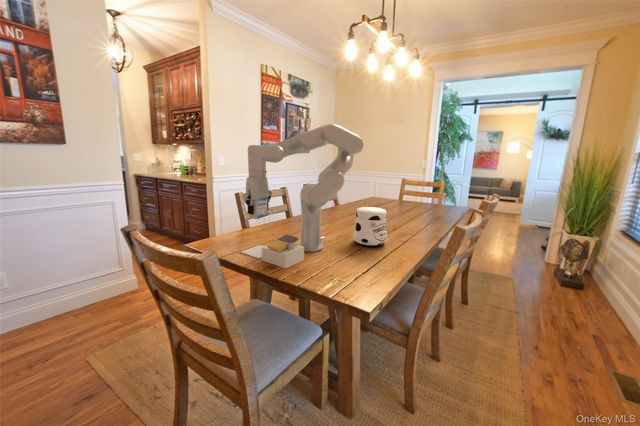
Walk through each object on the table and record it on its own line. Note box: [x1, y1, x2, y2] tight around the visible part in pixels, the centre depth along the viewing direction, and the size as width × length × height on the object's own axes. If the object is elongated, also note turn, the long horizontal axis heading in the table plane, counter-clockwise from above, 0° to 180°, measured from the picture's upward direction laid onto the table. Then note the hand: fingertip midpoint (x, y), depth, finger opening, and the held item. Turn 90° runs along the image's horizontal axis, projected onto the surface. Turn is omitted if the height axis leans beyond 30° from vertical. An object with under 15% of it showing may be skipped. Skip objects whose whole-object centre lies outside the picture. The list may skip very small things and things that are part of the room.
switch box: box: [261, 238, 305, 269], centre depth 123 cm, size 12×14×9 cm
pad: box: [240, 244, 264, 260], centre depth 132 cm, size 12×12×1 cm
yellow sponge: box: [267, 234, 299, 252], centre depth 122 cm, size 12×7×2 cm, turn 145°
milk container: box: [352, 206, 388, 247], centre depth 146 cm, size 17×17×18 cm
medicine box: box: [248, 198, 268, 220], centre depth 127 cm, size 8×4×9 cm, turn 154°
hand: (258, 212), depth 127 cm, fingers closed on medicine box, 8 cm apart
